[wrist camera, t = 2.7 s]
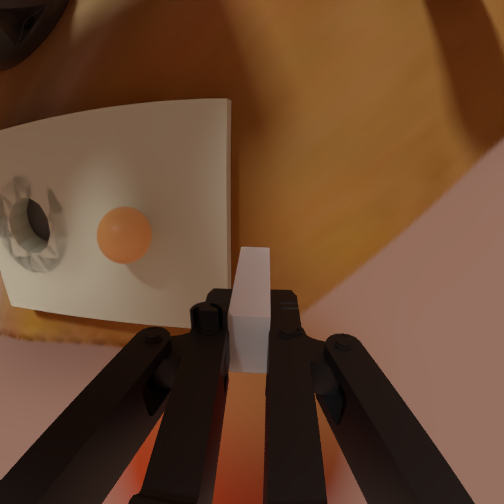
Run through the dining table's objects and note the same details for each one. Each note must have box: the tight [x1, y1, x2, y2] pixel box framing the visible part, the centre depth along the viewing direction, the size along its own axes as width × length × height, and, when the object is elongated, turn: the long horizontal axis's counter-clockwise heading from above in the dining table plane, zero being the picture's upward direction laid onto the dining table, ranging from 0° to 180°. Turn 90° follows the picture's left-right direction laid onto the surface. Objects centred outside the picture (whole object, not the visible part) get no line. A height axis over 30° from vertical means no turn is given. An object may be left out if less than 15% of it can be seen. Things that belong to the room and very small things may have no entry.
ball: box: [97, 206, 152, 264], centre depth 21 cm, size 4×4×4 cm
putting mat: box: [0, 98, 231, 328], centre depth 25 cm, size 18×24×3 cm
